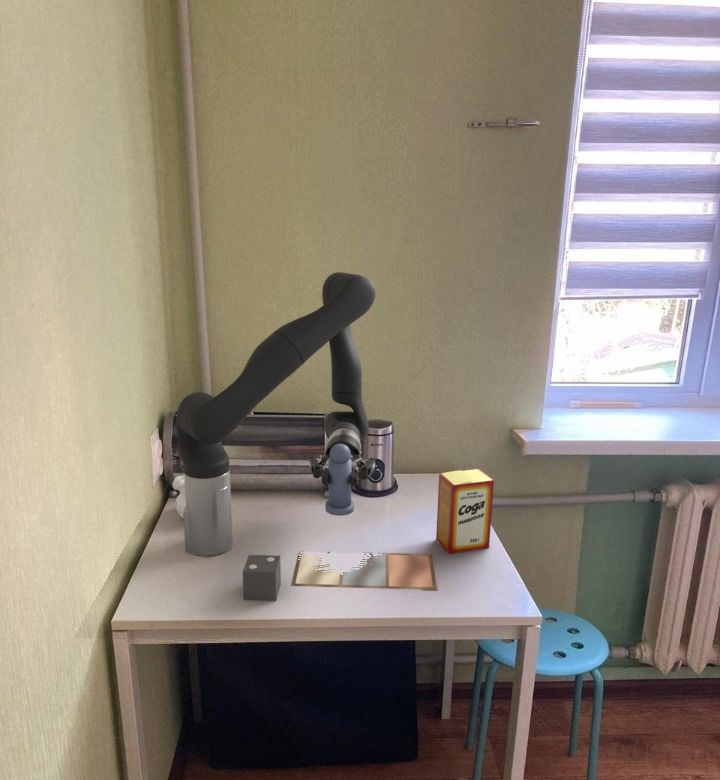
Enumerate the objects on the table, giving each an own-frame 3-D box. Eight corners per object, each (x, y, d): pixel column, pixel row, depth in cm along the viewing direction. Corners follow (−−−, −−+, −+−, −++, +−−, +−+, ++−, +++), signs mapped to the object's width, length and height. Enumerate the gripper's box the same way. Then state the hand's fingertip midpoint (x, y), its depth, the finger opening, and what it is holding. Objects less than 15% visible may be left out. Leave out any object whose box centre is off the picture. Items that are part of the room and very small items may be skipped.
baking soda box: (474, 534, 149) (479, 467, 145) (489, 547, 143) (494, 478, 139) (436, 539, 146) (439, 471, 142) (448, 554, 140) (452, 483, 136)
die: (243, 600, 122) (242, 570, 121) (249, 582, 128) (248, 554, 127) (276, 601, 122) (275, 571, 121) (280, 583, 128) (280, 555, 126)
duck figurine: (193, 513, 162) (161, 481, 158) (217, 494, 162) (186, 461, 158) (189, 536, 150) (155, 502, 147) (215, 516, 150) (181, 481, 147)
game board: (290, 588, 127) (290, 585, 127) (298, 553, 140) (298, 550, 140) (437, 592, 127) (437, 589, 127) (431, 556, 140) (431, 554, 140)
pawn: (324, 515, 128) (324, 449, 124) (326, 502, 133) (326, 439, 130) (353, 515, 128) (354, 449, 124) (354, 503, 133) (355, 439, 130)
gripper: (310, 433, 142) (301, 463, 125) (377, 434, 141) (377, 464, 125) (310, 466, 144) (302, 499, 127) (376, 467, 143) (376, 501, 127)
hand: (339, 482), depth 126 cm, fingers closed on pawn, 4 cm apart
